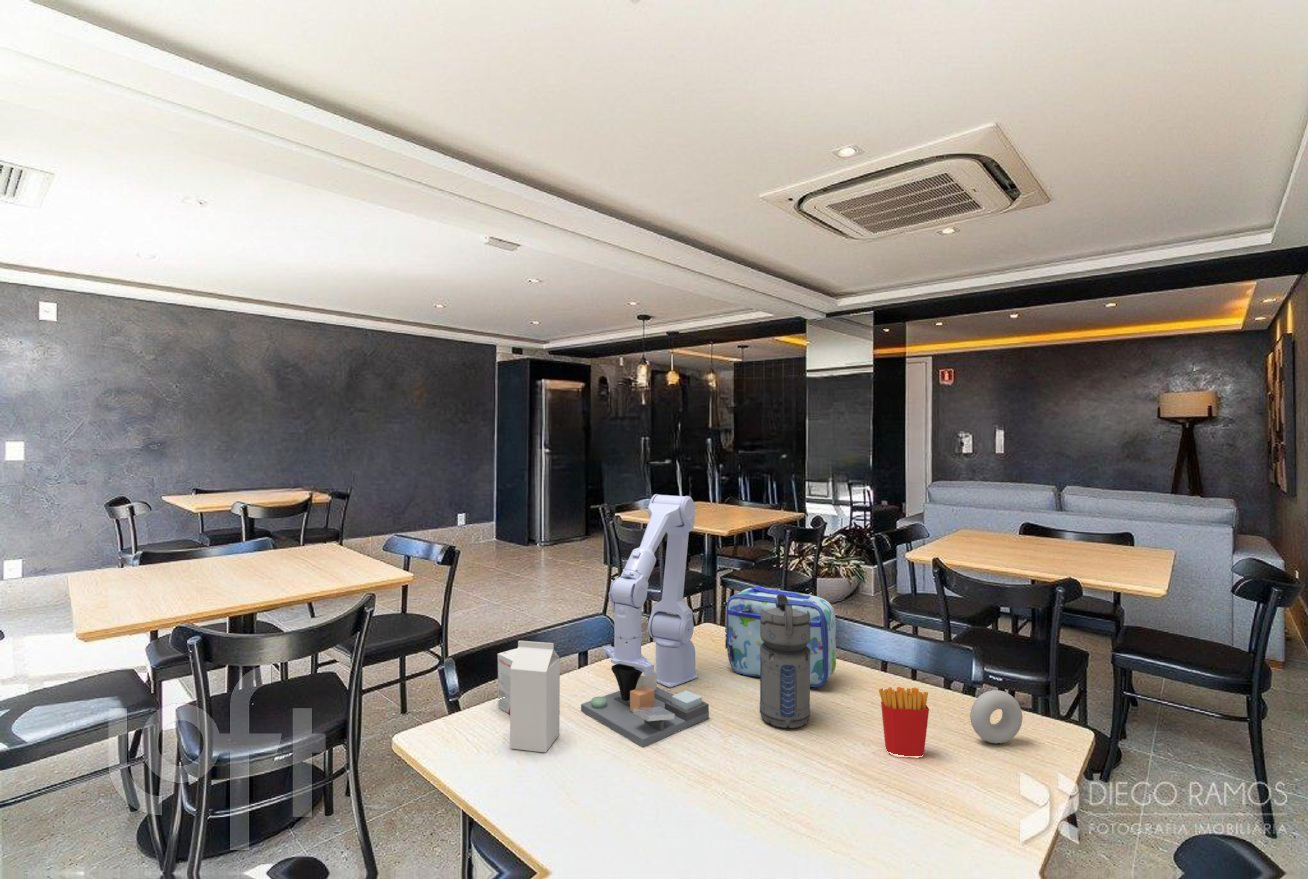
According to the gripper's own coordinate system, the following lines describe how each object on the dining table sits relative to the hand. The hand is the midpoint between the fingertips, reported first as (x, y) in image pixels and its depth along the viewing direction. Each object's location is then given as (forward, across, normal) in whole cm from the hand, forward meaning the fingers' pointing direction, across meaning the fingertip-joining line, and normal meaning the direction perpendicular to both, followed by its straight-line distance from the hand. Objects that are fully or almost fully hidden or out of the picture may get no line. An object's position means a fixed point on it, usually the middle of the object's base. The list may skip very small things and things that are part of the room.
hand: (627, 699), depth 129 cm
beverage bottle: (+3, +24, +22) cm, 33 cm away
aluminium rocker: (-2, +11, -3) cm, 12 cm away
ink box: (+3, -15, -17) cm, 23 cm away
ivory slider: (+1, -2, +7) cm, 7 cm away
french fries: (+3, +47, +27) cm, 54 cm away
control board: (+2, +4, +1) cm, 5 cm away
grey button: (0, +11, +7) cm, 13 cm away
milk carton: (+3, -1, -22) cm, 22 cm away
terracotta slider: (+1, +5, 0) cm, 5 cm away
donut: (+3, +57, +44) cm, 72 cm away
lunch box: (+3, +10, +39) cm, 41 cm away
